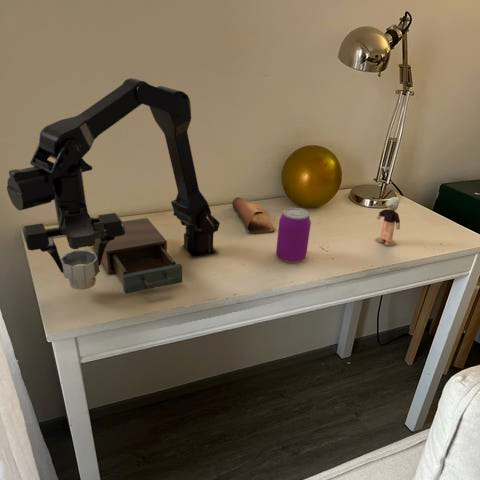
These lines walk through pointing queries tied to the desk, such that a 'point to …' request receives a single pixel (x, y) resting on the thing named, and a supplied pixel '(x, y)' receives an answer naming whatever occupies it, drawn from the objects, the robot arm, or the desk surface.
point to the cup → (80, 268)
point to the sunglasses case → (252, 216)
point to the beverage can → (293, 235)
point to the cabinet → (133, 240)
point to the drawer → (145, 268)
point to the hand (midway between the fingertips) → (80, 268)
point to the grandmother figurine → (389, 221)
